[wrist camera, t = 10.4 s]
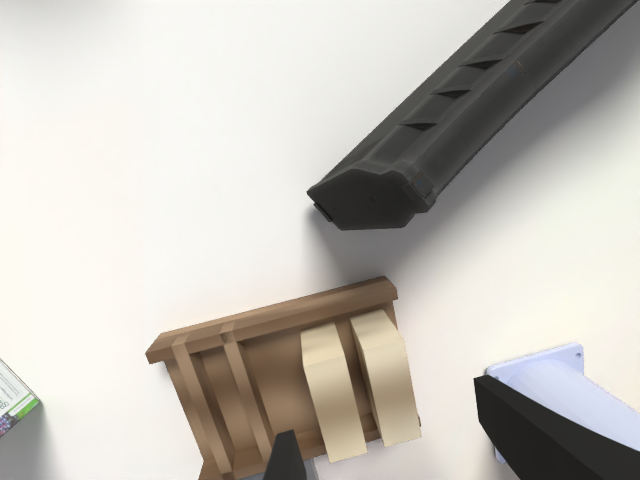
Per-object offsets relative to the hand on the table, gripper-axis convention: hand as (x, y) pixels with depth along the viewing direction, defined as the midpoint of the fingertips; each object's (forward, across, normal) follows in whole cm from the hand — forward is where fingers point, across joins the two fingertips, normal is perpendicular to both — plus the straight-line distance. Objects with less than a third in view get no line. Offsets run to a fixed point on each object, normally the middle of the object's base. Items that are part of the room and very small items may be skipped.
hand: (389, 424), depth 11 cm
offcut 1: (+10, +2, +4) cm, 11 cm away
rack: (+10, +4, +4) cm, 12 cm away
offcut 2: (+10, -2, +4) cm, 11 cm away
